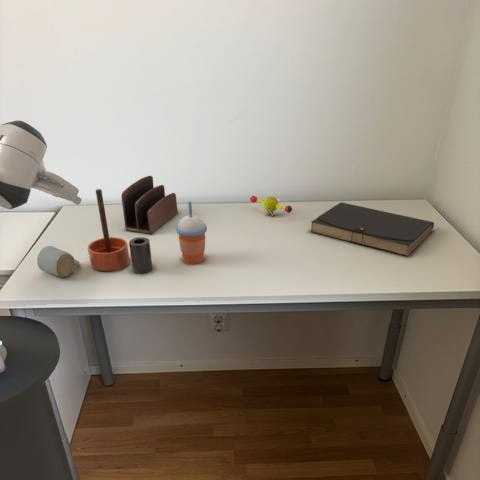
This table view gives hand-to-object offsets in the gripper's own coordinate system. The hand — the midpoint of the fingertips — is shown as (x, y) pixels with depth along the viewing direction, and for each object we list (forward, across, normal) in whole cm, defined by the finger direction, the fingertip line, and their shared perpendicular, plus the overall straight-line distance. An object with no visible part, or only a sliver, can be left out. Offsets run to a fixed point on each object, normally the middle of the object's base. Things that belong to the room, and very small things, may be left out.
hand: (68, 198), depth 135 cm
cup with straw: (+35, -18, -3) cm, 40 cm away
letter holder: (+44, +14, -12) cm, 47 cm away
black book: (+72, -50, -40) cm, 96 cm away
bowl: (+23, 0, +9) cm, 25 cm away
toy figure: (+65, -15, -33) cm, 75 cm away
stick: (+22, 0, +9) cm, 24 cm away
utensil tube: (+25, -11, +7) cm, 28 cm away
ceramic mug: (+15, +7, +18) cm, 24 cm away
